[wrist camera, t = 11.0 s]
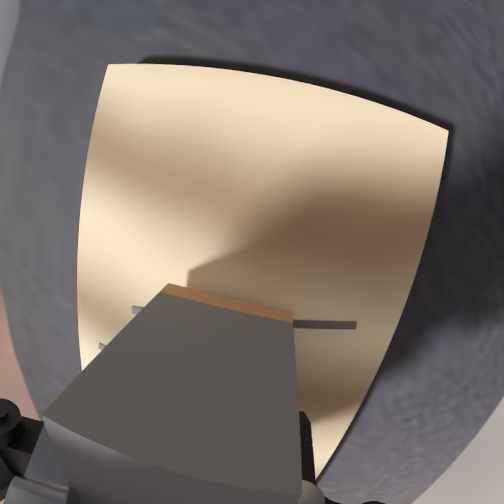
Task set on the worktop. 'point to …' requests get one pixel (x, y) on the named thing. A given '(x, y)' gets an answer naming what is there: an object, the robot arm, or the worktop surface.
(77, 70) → the worktop surface
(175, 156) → the board
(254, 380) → the block
